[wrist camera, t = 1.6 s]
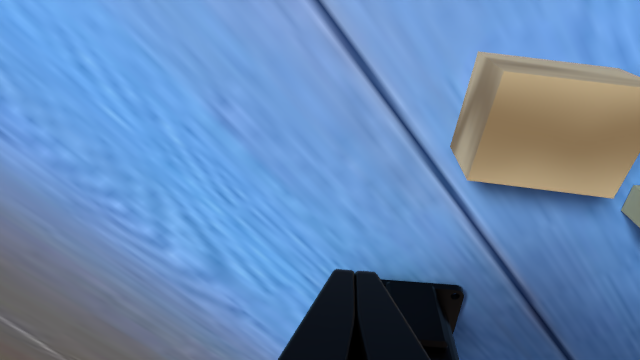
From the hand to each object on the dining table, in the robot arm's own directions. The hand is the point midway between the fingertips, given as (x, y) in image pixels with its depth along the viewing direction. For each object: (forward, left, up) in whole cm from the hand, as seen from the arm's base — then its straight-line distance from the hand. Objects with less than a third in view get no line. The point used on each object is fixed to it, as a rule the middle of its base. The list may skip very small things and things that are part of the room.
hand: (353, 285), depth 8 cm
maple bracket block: (0, -8, -12) cm, 14 cm away
